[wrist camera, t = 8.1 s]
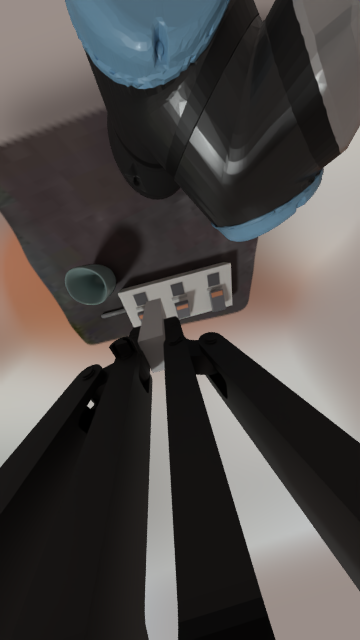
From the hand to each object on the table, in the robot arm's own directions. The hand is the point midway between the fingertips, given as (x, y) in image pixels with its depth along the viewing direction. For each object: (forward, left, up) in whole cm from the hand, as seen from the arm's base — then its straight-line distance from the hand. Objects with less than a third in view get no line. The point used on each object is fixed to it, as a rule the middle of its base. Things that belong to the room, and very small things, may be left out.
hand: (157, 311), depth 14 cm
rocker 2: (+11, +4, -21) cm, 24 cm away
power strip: (+8, 0, -26) cm, 28 cm away
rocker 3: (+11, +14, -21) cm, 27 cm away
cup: (-2, -14, -27) cm, 30 cm away
